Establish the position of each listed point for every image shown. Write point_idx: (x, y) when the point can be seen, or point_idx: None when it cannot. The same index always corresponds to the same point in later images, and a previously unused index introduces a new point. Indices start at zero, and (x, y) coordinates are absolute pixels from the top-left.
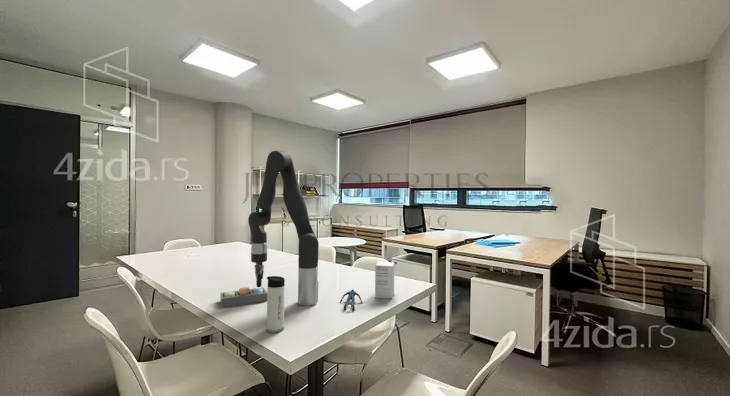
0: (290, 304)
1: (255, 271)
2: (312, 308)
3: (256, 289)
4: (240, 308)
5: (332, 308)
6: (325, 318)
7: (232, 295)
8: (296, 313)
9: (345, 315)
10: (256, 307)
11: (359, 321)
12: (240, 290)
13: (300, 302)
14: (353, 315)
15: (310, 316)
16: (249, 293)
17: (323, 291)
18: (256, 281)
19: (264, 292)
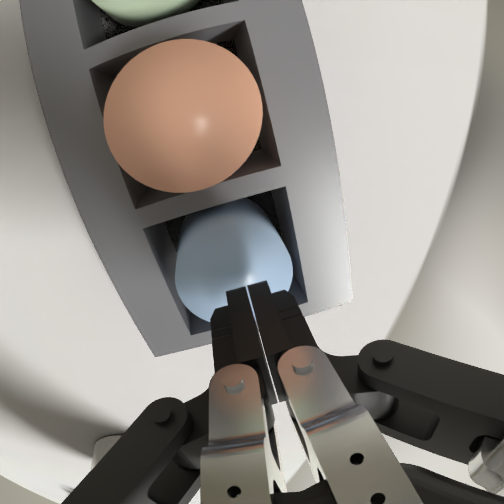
0: (104, 412)
1: (328, 484)
2: (73, 455)
3: (239, 263)
4: (9, 136)
5: None
6: (10, 456)
7: (95, 3)
8: (11, 415)
9: (46, 484)
10: (29, 253)
11: (24, 485)
12: (119, 76)
13: (97, 448)
14: (52, 491)
15: (6, 437)
16: (262, 161)
17: (283, 475)
18: (277, 323)
19: (168, 335)
